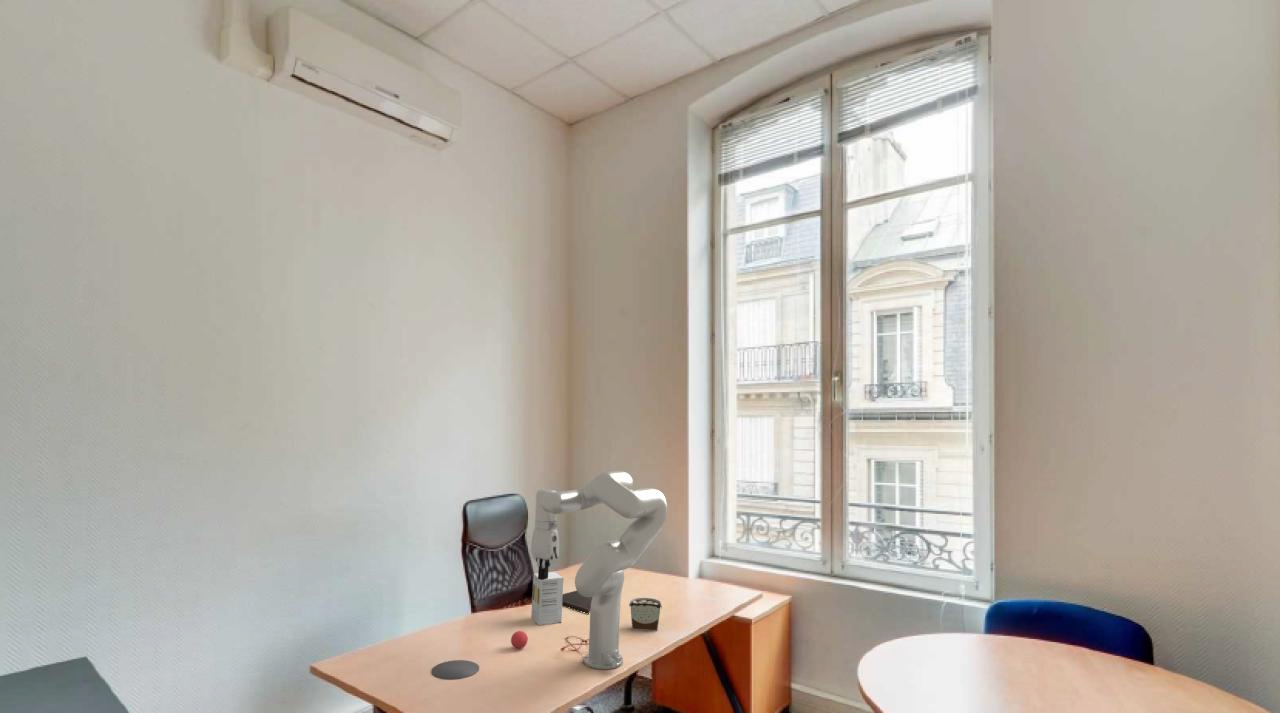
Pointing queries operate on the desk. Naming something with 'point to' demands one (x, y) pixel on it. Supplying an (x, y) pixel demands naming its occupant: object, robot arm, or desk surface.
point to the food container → (645, 613)
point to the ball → (519, 639)
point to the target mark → (455, 669)
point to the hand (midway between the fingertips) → (543, 578)
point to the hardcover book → (577, 601)
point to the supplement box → (547, 599)
